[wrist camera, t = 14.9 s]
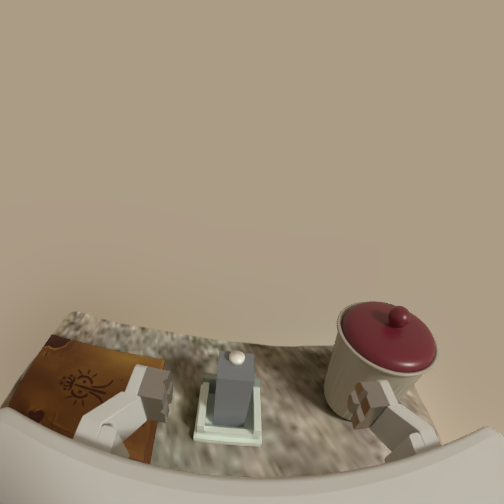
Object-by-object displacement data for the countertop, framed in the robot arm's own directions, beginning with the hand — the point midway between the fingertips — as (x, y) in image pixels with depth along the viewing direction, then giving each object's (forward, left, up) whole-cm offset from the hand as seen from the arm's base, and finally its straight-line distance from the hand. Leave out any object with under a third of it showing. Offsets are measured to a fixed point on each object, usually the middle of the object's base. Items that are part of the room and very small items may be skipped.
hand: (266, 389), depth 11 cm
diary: (-22, +14, -31) cm, 40 cm away
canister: (+23, +21, -30) cm, 43 cm away
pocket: (0, +17, -30) cm, 35 cm away
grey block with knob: (0, +17, -29) cm, 34 cm away
